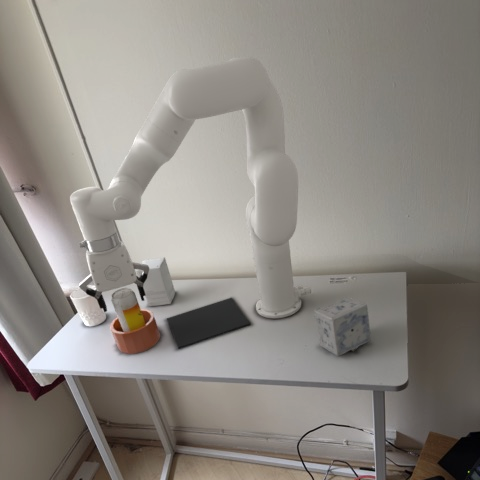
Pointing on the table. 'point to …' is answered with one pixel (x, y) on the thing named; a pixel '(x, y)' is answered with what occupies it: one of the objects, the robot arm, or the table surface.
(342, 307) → the incense holder
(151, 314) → the pot
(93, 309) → the white cup
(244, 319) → the mat
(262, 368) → the table surface
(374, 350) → the table surface
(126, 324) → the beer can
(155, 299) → the white packaging box
